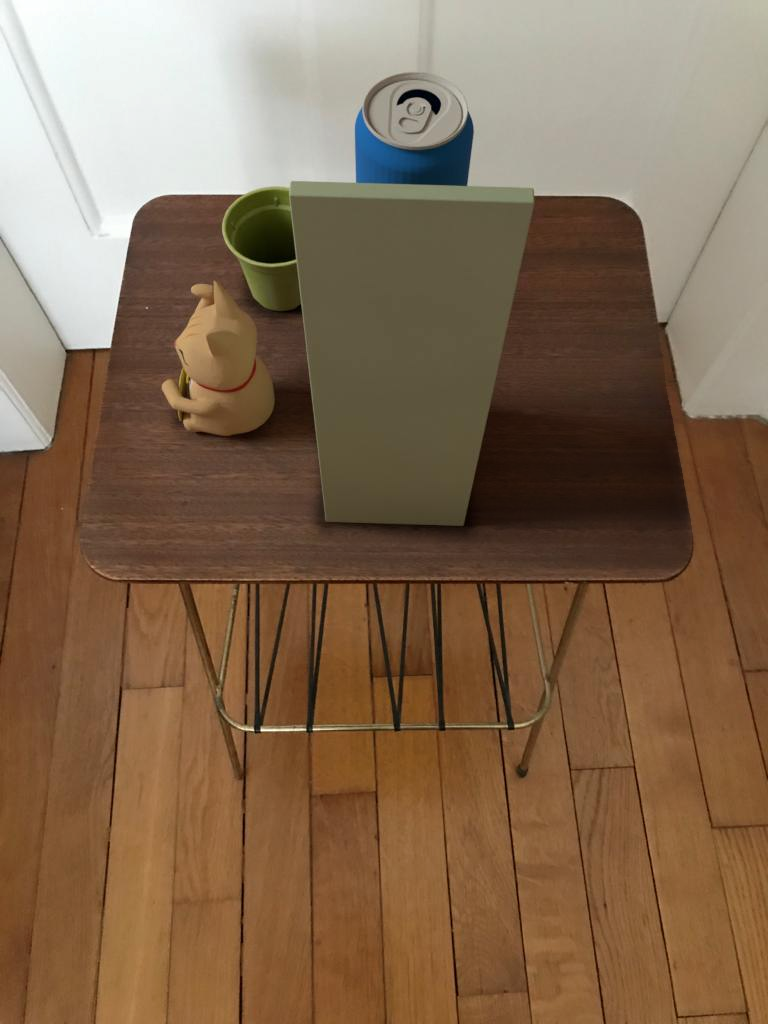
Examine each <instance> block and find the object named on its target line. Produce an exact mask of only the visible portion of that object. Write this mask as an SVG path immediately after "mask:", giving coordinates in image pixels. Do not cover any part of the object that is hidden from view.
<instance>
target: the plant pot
mask: <svg viewBox="0 0 768 1024" xmlns="http://www.w3.org/2000/svg"><path fill="white" fill-rule="evenodd" d="M289 191H290V187H287V186H277V185H276V186H264V187H261V188H256V189H253V190H251V191H248V192H246V193H244V194H243V195H241V196H240V197H238V198H237V199H236V200H234V202H232V203H231V204H230V206H229V207H228V208H227V210H226V211H225V213H224V216H223V219H222V224H221V232H222V236H223V239H224V242H225V245H226V246H227V248H228V249H229V250H230V252H231V253H232V254H233V255H234V256H235V257H236V258H237V260H238V261H239V264H240V267H241V269H242V272H243V274H244V277H245V280H246V282H247V285H248V287H249V290H250V293H251V295H252V298H253V299H254V300H255V301H256V302H258V303H259V304H260V306H262V307H263V308H265V309H267V310H269V311H275V312H287V311H291V310H294V309H296V308H297V307H300V305H301V297H300V288H299V279H298V270H297V261H296V252H295V243H294V235H293V226H292V217H291V208H290V199H289Z"/></svg>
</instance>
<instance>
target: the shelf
mask: <svg viewBox="0 0 768 1024" xmlns="http://www.w3.org/2000/svg"><path fill="white" fill-rule="evenodd" d="M289 188H290V191H289V199H290V208H291V217H292V226H293V235H294V243H295V252H296V261H297V270H298V279H299V288H300V297H301V304H300V305H301V313H302V321H303V322H302V323H303V330H304V331H303V332H304V339H305V347H306V349H305V351H306V356H307V367H308V375H309V384H310V393H311V403H312V412H313V420H314V429H315V436H316V437H315V438H316V446H317V454H318V464H319V472H320V481H321V483H320V484H321V491H322V500H323V509H324V519H325V522H327V523H348V524H349V523H351V524H385V525H386V524H387V525H388V524H389V525H417V526H418V525H419V526H420V525H421V526H422V525H423V526H452V527H453V526H455V527H456V526H457V527H463V526H464V525H465V521H466V517H467V512H468V507H469V502H470V498H471V494H472V490H473V486H474V480H475V475H476V471H477V466H478V461H479V458H480V453H481V448H482V443H483V438H484V435H485V430H486V425H487V420H488V416H489V413H490V407H491V403H492V397H493V395H494V394H493V393H494V389H495V384H496V380H497V376H498V370H499V368H500V367H499V366H500V363H501V362H500V361H501V357H502V353H503V348H504V344H505V338H506V334H507V330H508V325H509V319H510V316H511V311H512V307H513V302H514V297H515V295H516V289H517V285H518V281H519V280H518V279H519V275H520V270H521V266H522V262H523V257H524V254H525V253H524V252H525V248H526V243H527V238H528V236H529V235H528V234H529V230H530V225H531V221H532V216H533V212H534V208H535V203H536V201H535V189H534V188H533V187H518V186H517V187H516V186H515V187H513V186H483V185H482V186H479V185H477V186H476V185H467V186H448V185H413V184H379V183H356V182H341V181H311V180H310V181H308V180H306V181H305V180H304V181H303V180H291V181H290V183H289Z"/></svg>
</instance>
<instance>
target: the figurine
mask: <svg viewBox="0 0 768 1024" xmlns="http://www.w3.org/2000/svg"><path fill="white" fill-rule="evenodd" d="M190 291H191V294H193V296H196V297H199V298H201V299H200V300H199V303H198V304H197V306H196V307H195V311H194V312H193V314H192V315H191V316H190V319H189V321H188V323H187V325H186V327H185V328H184V329H183V331H182V332H181V334H180V335H179V336H178V337H177V338H175V340H174V343H173V345H174V348H175V351H176V353H177V356H178V357H179V360H180V362H181V365H182V368H181V372H180V376H179V382H178V385H177V384H176V381H174V380H173V379H170V378H169V379H166V380H165V381H164V382H162V384H161V390H162V392H163V394H164V396H165V398H166V400H167V402H168V403H169V405H170V406H171V407H170V408H172V409H174V410H176V411H177V417H178V419H179V421H180V422H182V423H183V426H184V428H185V429H186V430H187V431H188V432H191V433H199V432H202V433H207V434H212V435H217V436H223V437H230V436H232V435H233V436H234V435H239V434H245V433H249V432H252V431H255V430H256V429H258V428H259V427H261V426H262V425H264V424H265V423H266V421H267V420H269V418H270V417H271V415H272V413H273V411H274V407H275V400H276V399H275V389H274V383H273V378H272V377H271V374H270V372H269V370H268V368H267V367H266V365H265V363H264V362H263V360H262V359H261V358H260V357H259V356H258V355H257V348H258V347H257V346H258V329H257V326H256V323H255V321H254V319H252V316H250V315H249V314H248V313H246V312H245V311H244V310H242V309H241V308H239V306H238V304H237V303H236V301H235V300H234V299H233V297H232V295H230V294H229V293H228V292H227V290H226V289H225V288H224V287H223V286H222V285H221V283H220V282H218V281H216V280H213V285H211V284H207V283H196V284H193V285H192V286H191V288H190ZM188 394H189V398H188Z"/></svg>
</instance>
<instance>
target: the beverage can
mask: <svg viewBox="0 0 768 1024" xmlns="http://www.w3.org/2000/svg"><path fill="white" fill-rule="evenodd" d="M468 108H469V107H468V101H467V100H466V97H465V95H464V94H463V91H461V90H460V89H459V87H457V85H455V84H454V83H452V82H451V81H449V80H448V79H447V78H444V77H442V76H440V75H436V74H433V73H428V72H423V71H422V72H421V71H406V72H400V73H395V74H392V75H389V76H386V77H385V78H383V79H381V80H380V81H378V82H377V83H375V84H373V86H372V87H370V88H369V90H368V91H367V93H366V95H365V97H364V99H363V102H362V106H361V108H360V110H359V111H358V113H357V115H356V118H355V124H354V155H355V159H354V160H355V183H379V184H413V185H448V186H468V182H469V174H470V165H471V158H472V151H473V143H474V134H475V129H474V128H475V127H474V121H473V118H472V115H471V114H470V111H469V109H468Z"/></svg>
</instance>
